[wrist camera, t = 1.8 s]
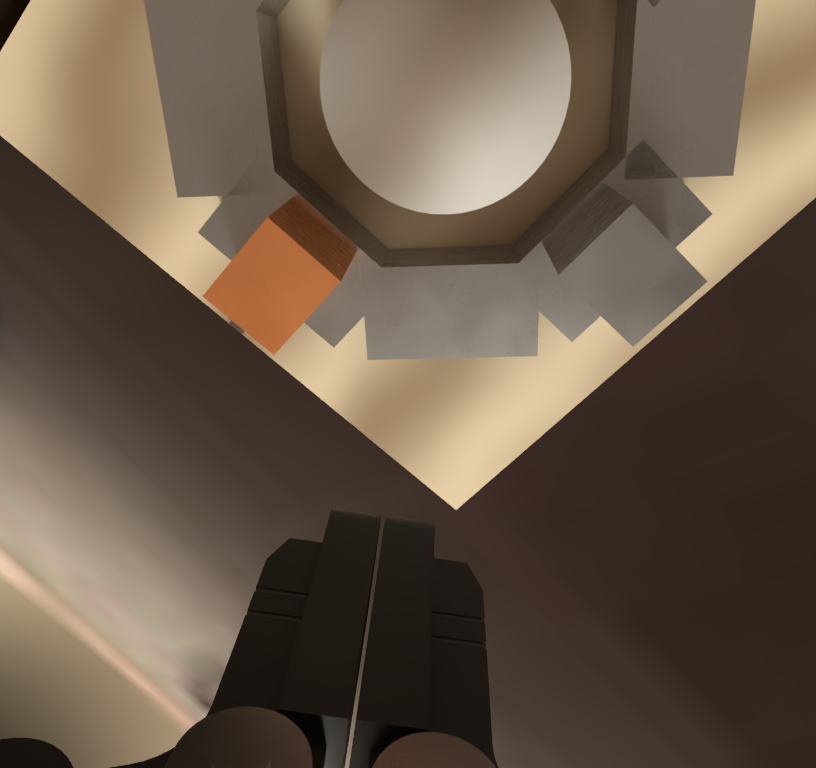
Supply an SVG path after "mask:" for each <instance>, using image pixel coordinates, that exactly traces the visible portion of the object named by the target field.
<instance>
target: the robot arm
mask: <svg viewBox="0 0 816 768" xmlns="http://www.w3.org/2000/svg"><path fill="white" fill-rule="evenodd" d="M380 521H381V515H376V514H369V513H362V512H355V511H348V510H341V509H334V508H332V510H331V513H330V517H329V520H328V524H327V528H326V532H325V535H324V539H323V543H321V542H314V541H307V540H300V539H293V538H289V539H288V540H287V541H286V542H285V543H284V544H283V545H282V546H281V547H280V548H278V549H277V550H276V551H275V552H274V553H273V554H272V555H271V556H270V557H268V558H267V560H266V562H265V565H264V568H263V570H262V573H261V576H260V578H259V581H258V584H257V586H256V591H255V592H254V594H253V597H252V600H251V602H250V605H249V608H248V612H247V615H246V616H245V618H244V621H243V624H242V626H241V629H240V632H239V634H238V637H237V640H236V642H235V645H234V648H233V650H232V653H231V656H230V658H229V661H228V664H227V666H226V669H225V672H224V674H223V677H222V680H221V682H220V685H219V688H218V690H217V693H216V696H215V698H214V701H213V704H212V706H211V708H210V710H209V712H208V714H207V716H206V717H205V718H204V719H202V720H201V721H199V722H197V723H196V724H195V725H194V726H192V727H191V728H190V729H189V730H188V731H187V732H186V733H185V734H184V735H183V736H182V738H181V739H180V740H179V741H178V743H177V745H176V746H175V747H174V748H173V749H171V750H169V751H167V752H165V753H163V754H161V755H159V756H157V757H154V758H151V759H149V760H146V761H143V762H138V763H134V764H130V765H124V766H117V767H111V768H344V767H345V760H346V754H347V747H348V741H349V734H350V727H351V721H352V714H353V708H354V701H355V695H356V688H357V681H358V675H359V668H360V662H361V655H362V649H363V642H364V635H365V629H366V622H367V615H368V608H369V601H370V594H371V586H372V579H373V572H374V565H375V557H376V550H377V543H378V536H379V529H380ZM434 536H435V523H434V522H427V521H420V520H413V519H405V518H398V517H391V516H386V517H385V524H384V531H383V538H382V545H381V551H380V558H379V565H378V572H377V579H376V586H375V593H374V600H373V607H372V613H371V620H370V627H369V634H368V641H367V648H366V655H365V662H364V668H363V675H362V682H361V689H360V696H359V703H358V710H357V717H356V724H355V731H354V738H353V745H352V752H351V759H350V766H349V768H498V766H497V763H496V760H495V757H494V752H493V745H492V731H491V714H490V698H489V682H488V666H487V649H486V633H485V624H484V619H485V617H484V601H483V589H482V587H481V586H480V584H479V582H478V581H477V579H476V577H475V576H474V574H473V572H472V571H471V569H470V568H469V566H468V564H467V563H464V562H456V561H449V560H442V559H435V558H434ZM0 768H73V766H72V764H71V762H70V761H69V759H68V757H67V756H66V755H65V754H64V753H63V752H62V751H61V750H59V749H58V748H56V747H55V746H53V745H52V744H49V743H47V742H44V741H42V740H36V739H32V738H8V739H1V740H0Z"/></svg>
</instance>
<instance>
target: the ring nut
mask: <svg viewBox="0 0 816 768" xmlns="http://www.w3.org/2000/svg"><path fill="white" fill-rule="evenodd" d="M289 1H290V0H144V5H145V11H146V16H147V22H148V28H149V34H150V40H151V46H152V52H153V57H154V63H155V69H156V75H157V81H158V87H159V93H160V98H161V104H162V110H163V116H164V122H165V128H166V134H167V139H168V145H169V151H170V157H171V163H172V169H173V175H174V180H175V186H176V192H177V198H180V197H205V196H226V197H225V198H224V200H223V201H222V202H221V203H220V205H219V206H218V207H217V208H216V210H215V211H214V212H213V214H212V215H211V216H210V217H209V219H208V220H207V221H206V222H205V224H204V225H203V226H202V228H201V229H200V230H199V231H198V233H199V234H200V235H201V236H202V237H204V238H205V239H206V240H207V241H208V242H210V243H211V244H212V245H213V246H214V247H215V248H217V249H218V250H219V251H220V252H221V253H223V254H224V255H225V256H226V257H227V258H228V259H230V260H231V262H230V263H229V264H228V266H227V267H226V268H225V269H224V271H223V272H222V273H221V274H220V275H219V277H218V278H217V279H216V280H215V281H214V283H213V284H212V285H211V286H210V288H209V289H208V290H207V291H206V292H205V294H204V295H203V297H204V298H205V299H206V300H208V301H209V302H210V303H211V304H212V305H214V306H215V307H216V308H217V309H219V310H220V311H221V312H222V313H223V314H225V315H226V316H227V317H228V318H229V319H231V320H232V321H233V322H234V323H236V324H237V325H238V326H239V327H240V328H242V329H243V330H244V331H245V332H246V333H248V334H249V335H250V336H251V337H252V338H254V339H255V340H256V341H257V342H259V343H260V344H261V345H262V346H263V347H265V348H266V349H267V350H268V351H269V352H271V353H272V354H273V355H275V354H276V353H277V351H278V350H279V349H280V348H281V347H282V346H283V345H284V344H285V343H286V341H287V340H288V339H289V338H290V337H291V336H292V335H293V334H294V333H295V332H296V330H297V329H298V328H299V327H300V326H301V325H302V324H303V323H305V324H306V325H307V326H309V327H310V328H311V329H312V330H313V331H315V332H316V333H317V334H318V335H319V336H320V337H322V338H323V339H324V340H325V341H326V342H327V343H329V344H330V345H331V346H332V347H333V348H334V347H335V346H336V345H337V344H338V343H339V342H340V341H341V340H342V339H343V338H344V337H345V336H346V335H347V333H348V332H349V331H350V330H351V329H352V328H353V327H354V326H355V325H356V324H357V323H358V322H359V321H360V320H361V319H362V318H363V316H364V320H365V334H366V347H367V360H390V359H435V358H480V357H524V356H538V322H539V312H540V313H541V314H542V315H543V316H545V317H546V318H547V319H548V320H549V321H550V322H551V323H552V324H553V325H554V326H555V327H556V328H557V329H558V330H559V331H560V332H561V333H563V334H564V335H565V336H566V337H567V338H568V339H569V340H570V341H571V342H573V341H574V340H575V339H576V338H577V337H578V336H579V335H580V334H582V333H583V332H584V331H585V330H586V329H587V328H588V327H589V326H590V325H591V324H593V323H594V322H595V321H596V320H597V319H598V318H599V317H600V316H601V317H602V318H603V319H605V320H606V321H607V322H608V323H609V324H610V325H611V326H612V327H613V328H614V329H615V330H616V331H617V332H618V333H619V334H620V335H621V336H622V337H623V338H624V339H625V340H626V341H627V342H628V343H629V344H630V345H631V346H632V347H633V346H635V345H636V344H637V343H638V342H639V341H640V340H641V339H643V338H644V337H645V336H646V335H647V334H648V333H649V332H651V331H652V330H653V329H654V328H655V327H656V326H657V325H659V324H660V323H661V322H662V321H663V320H664V319H665V318H667V317H668V316H669V315H670V314H671V313H672V312H673V311H675V310H676V309H677V308H678V307H679V306H680V305H681V304H683V303H684V302H685V301H686V300H687V299H688V298H689V297H691V296H692V295H693V294H694V293H695V292H696V291H697V290H699V289H700V288H701V287H702V286H703V285H704V284H705V283H707V282H708V281H707V280H706V279H705V278H704V277H703V276H702V275H701V274H700V273H699V272H698V271H697V270H696V269H695V268H694V267H693V266H692V265H691V264H690V262H689V261H688V260H687V259H686V258H685V257H684V256H683V255H682V254H681V253H680V252H679V251H678V250H677V249H676V247H677V246H678V245H679V244H680V243H681V242H682V241H684V240H685V239H686V238H687V237H688V236H689V235H690V234H691V233H692V232H693V231H695V230H696V229H697V228H698V227H699V226H700V225H701V224H702V223H703V222H704V221H706V220H707V219H708V218H709V217H710V216H711V215H712V213H711V212H710V211H709V210H708V208H707V207H706V206H705V205H704V204H703V203H702V202H701V201H700V200H699V199H698V198H697V197H696V196H695V194H694V193H693V192H692V191H691V190H690V189H689V188H688V187H687V186H686V185H685V184H684V183H683V182H682V180H681V179H680V178H687V177H713V176H733V174H734V166H735V159H736V151H737V143H738V135H739V128H740V120H741V112H742V104H743V97H744V89H745V81H746V74H747V66H748V58H749V50H750V43H751V35H752V27H753V19H754V12H755V4H756V0H617V15H616V31H615V47H614V64H613V80H612V96H611V113H610V129H609V145H608V149H607V150H606V151H605V152H604V153H603V154H602V155H601V156H600V157H599V158H598V159H597V160H596V161H595V162H594V163H593V164H592V165H591V166H590V167H589V168H588V169H587V170H586V171H585V172H584V173H583V174H582V175H581V176H580V177H579V178H578V179H577V180H576V181H575V182H574V183H573V184H572V185H571V186H570V187H569V188H568V189H567V190H566V191H565V192H564V193H563V194H562V195H561V196H560V197H559V198H558V199H557V200H556V201H555V202H554V203H553V204H552V205H551V206H550V207H549V208H548V209H547V210H546V211H545V212H544V213H543V214H542V215H541V216H540V217H539V218H538V219H537V220H536V221H535V222H534V223H533V224H532V225H531V226H530V227H529V229H528V230H527V231H526V232H525V233H524V234H523V235H522V236H521V237H520V238H519V239H518V240H517V241H516V242H515V243H514V244H513V245H491V246H461V247H431V248H401V249H388V248H387V247H386V246H384V245H383V244H382V243H381V242H380V241H379V240H378V239H377V238H376V237H375V236H373V235H372V234H371V233H370V232H369V231H368V230H367V229H366V228H365V227H364V226H362V225H361V224H360V223H359V222H358V221H357V220H356V219H355V218H354V217H353V216H351V215H350V214H349V213H348V212H347V211H346V210H345V209H344V208H343V207H342V206H340V205H339V204H338V203H337V202H336V201H335V200H334V199H333V198H332V197H331V196H330V195H328V194H327V193H326V192H325V191H324V190H323V189H322V188H321V187H320V186H319V185H317V184H316V183H315V182H314V181H313V180H312V179H311V178H310V177H309V176H308V175H306V174H305V173H304V172H303V171H302V170H301V169H300V168H299V167H298V166H297V165H295V164H294V163H293V162H292V156H291V146H290V137H289V128H288V118H287V109H286V99H285V90H284V81H283V71H282V62H281V52H280V43H279V34H278V24H277V17H278V16H279V14H280V13H281V11H282V10H283V9H284V7H285V6H286V5H287V3H288V2H289Z"/></svg>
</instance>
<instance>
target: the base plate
mask: <svg viewBox="0 0 816 768" xmlns="http://www.w3.org/2000/svg"><path fill="white" fill-rule="evenodd" d="M616 15H617V0H290V1H289V2H288V3H287V5H286V6H285V7H284V9H283V10H282V11H281V13H280V14H279V16H278V17H277V24H278V34H279V43H280V52H281V62H282V71H283V81H284V90H285V99H286V109H287V118H288V128H289V137H290V146H291V156H292V162H293V163H294V164H295V165H297V166H298V167H299V168H300V169H301V170H302V171H303V172H304V173H305V174H306V175H308V176H309V177H310V178H311V179H312V180H313V181H314V182H315V183H316V184H317V185H319V186H320V187H321V188H322V189H323V190H324V191H325V192H326V193H327V194H328V195H330V196H331V197H332V198H333V199H334V200H335V201H336V202H337V203H338V204H339V205H340V206H342V207H343V208H344V209H345V210H346V211H347V212H348V213H349V214H350V215H351V216H353V217H354V218H355V219H356V220H357V221H358V222H359V223H360V224H361V225H362V226H364V227H365V228H366V229H367V230H368V231H369V232H370V233H371V234H372V235H373V236H375V237H376V238H377V239H378V240H379V241H380V242H381V243H382V244H383V245H384V246H386V247H387V248H388V249H401V248H431V247H461V246H491V245H513V244H514V243H515V242H516V241H517V240H518V239H519V238H520V237H521V236H522V235H523V234H524V233H525V232H526V231H527V230H528V229H529V227H530V226H531V225H532V224H533V223H534V222H535V221H536V220H537V219H538V218H539V217H540V216H541V215H542V214H543V213H544V212H545V211H546V210H547V209H548V208H549V207H550V206H551V205H552V204H553V203H554V202H555V201H556V200H557V199H558V198H559V197H560V196H561V195H562V194H563V193H564V192H565V191H566V190H567V189H568V188H569V187H570V186H571V185H572V184H573V183H574V182H575V181H576V180H577V179H578V178H579V177H580V176H581V175H582V174H583V173H584V172H585V171H586V170H587V169H588V168H589V167H590V166H591V165H592V164H593V163H594V162H595V161H596V160H597V159H598V158H599V157H600V156H601V155H602V154H603V153H604V152H605V151H606V150H607V149H608V145H609V129H610V113H611V96H612V80H613V64H614V47H615V31H616ZM0 136H2V137H3V138H4V139H5V140H7V141H8V142H9V143H10V144H11V145H13V146H14V147H15V148H16V149H17V150H19V151H20V152H21V153H22V154H24V155H25V156H26V157H27V158H28V159H30V160H31V161H32V162H33V163H35V164H36V165H37V166H38V167H39V168H41V169H42V170H43V171H44V172H45V173H47V174H48V175H49V176H50V177H52V178H53V179H54V180H55V181H56V182H58V183H59V184H60V185H61V186H63V187H64V188H65V189H66V190H67V191H69V192H70V193H71V194H72V195H73V196H75V197H76V198H77V199H78V200H80V201H81V202H82V203H83V204H84V205H86V206H87V207H88V208H89V209H90V210H92V211H93V212H94V213H95V214H97V215H98V216H99V217H100V218H101V219H103V220H104V221H105V222H106V223H108V224H109V225H110V226H111V227H112V228H114V229H115V230H116V231H117V232H118V233H120V234H121V235H122V236H123V237H125V238H126V239H127V240H128V241H129V242H131V243H132V244H133V245H134V246H136V247H137V248H138V249H139V250H140V251H142V252H143V253H144V254H145V255H146V256H148V257H149V258H150V259H151V260H153V261H154V262H155V263H156V264H157V265H159V266H160V267H161V268H162V269H164V270H165V271H166V272H167V273H168V274H170V275H171V276H172V277H173V278H174V279H176V280H177V281H178V282H179V283H181V284H182V285H183V286H184V287H185V288H187V289H188V290H189V291H190V292H191V293H193V294H194V295H195V296H196V297H198V298H199V299H200V300H201V301H202V302H204V303H205V304H206V305H207V306H209V307H210V308H211V309H212V310H213V311H215V312H216V313H217V314H218V315H219V316H221V317H222V318H223V319H224V320H226V321H227V322H228V323H229V324H230V325H232V326H233V327H234V328H235V329H237V330H238V331H239V332H240V333H241V334H243V335H244V336H245V337H246V338H247V339H249V340H250V341H251V342H252V343H254V344H255V345H256V346H257V347H258V348H260V349H261V350H262V351H263V352H265V353H266V354H267V355H268V356H269V357H271V358H272V359H273V360H274V361H275V362H277V363H278V364H279V365H280V366H282V367H283V368H284V369H285V370H286V371H288V372H289V373H290V374H291V375H292V376H294V377H295V378H296V379H297V380H299V381H300V382H301V383H302V384H303V385H305V386H306V387H307V388H308V389H310V390H311V391H312V392H313V393H314V394H316V395H317V396H318V397H319V398H320V399H322V400H323V401H324V402H325V403H327V404H328V405H329V406H330V407H331V408H333V409H334V410H335V411H336V412H338V413H339V414H340V415H341V416H342V417H344V418H345V419H346V420H347V421H348V422H350V423H351V424H352V425H353V426H355V427H356V428H357V429H358V430H359V431H361V432H362V433H363V434H364V435H366V436H367V437H368V438H369V439H370V440H372V441H373V442H374V443H375V444H376V445H378V446H379V447H380V448H381V449H383V450H384V451H385V452H386V453H387V454H389V455H390V456H391V457H392V458H393V459H395V460H396V461H397V462H398V463H400V464H401V465H402V466H403V467H404V468H406V469H407V470H408V471H409V472H411V473H412V474H413V475H414V476H415V477H417V478H418V479H419V480H420V481H421V482H423V483H424V484H425V485H426V486H428V487H429V488H430V489H431V490H432V491H434V492H435V493H436V494H437V495H439V496H440V497H441V498H442V499H443V500H445V501H446V502H447V503H448V504H449V505H451V506H452V507H453V508H454V509H456V510H457V509H458V508H459V507H460V506H461V505H463V504H464V503H465V502H466V501H467V500H468V499H469V498H471V497H472V496H473V495H474V494H475V493H476V492H477V491H479V490H480V489H481V488H482V487H483V486H484V485H485V484H487V483H488V482H489V481H490V480H491V479H492V478H494V477H495V476H496V475H497V474H498V473H499V472H500V471H502V470H503V469H504V468H505V467H506V466H507V465H508V464H510V463H511V462H512V461H513V460H514V459H515V458H517V457H518V456H519V455H520V454H521V453H522V452H523V451H525V450H526V449H527V448H528V447H529V446H530V445H531V444H533V443H534V442H535V441H536V440H537V439H538V438H540V437H541V436H542V435H543V434H544V433H545V432H546V431H548V430H549V429H550V428H551V427H552V426H553V425H554V424H556V423H557V422H558V421H559V420H560V419H561V418H563V417H564V416H565V415H566V414H567V413H568V412H569V411H571V410H572V409H573V408H574V407H575V406H576V405H577V404H579V403H580V402H581V401H582V400H583V399H584V398H585V397H587V396H588V395H589V394H590V393H591V392H592V391H594V390H595V389H596V388H597V387H598V386H599V385H600V384H602V383H603V382H604V381H605V380H606V379H607V378H608V377H610V376H611V375H612V374H613V373H614V372H615V371H617V370H618V369H619V368H620V367H621V366H622V365H623V364H625V363H626V362H627V361H628V360H629V359H630V358H631V357H633V356H634V355H635V354H636V353H637V352H638V351H640V350H641V349H642V348H643V347H644V346H645V345H646V344H648V343H649V342H650V341H651V340H652V339H653V338H654V337H656V336H657V335H658V334H659V333H660V332H661V331H663V330H664V329H665V328H666V327H667V326H668V325H669V324H671V323H672V322H673V321H674V320H675V319H676V318H677V317H679V316H680V315H681V314H682V313H683V312H684V311H686V310H687V309H688V308H689V307H690V306H691V305H692V304H694V303H695V302H696V301H697V300H698V299H699V298H700V297H702V296H703V295H704V294H705V293H706V292H707V291H708V290H710V289H711V288H712V287H713V286H714V285H715V284H717V283H718V282H719V281H720V280H721V279H722V278H723V277H725V276H726V275H727V274H728V273H729V272H730V271H731V270H733V269H734V268H735V267H736V266H737V265H738V264H740V263H741V262H742V261H743V260H744V259H745V258H746V257H748V256H749V255H750V254H751V253H752V252H753V251H754V250H756V249H757V248H758V247H759V246H760V245H761V244H763V243H764V242H765V241H766V240H767V239H768V238H769V237H771V236H772V235H773V234H774V233H775V232H776V231H777V230H779V229H780V228H781V227H782V226H783V225H784V224H786V223H787V222H788V221H789V220H790V219H791V218H792V217H794V216H795V215H796V214H797V213H798V212H799V211H800V210H802V209H803V208H804V207H805V206H806V205H807V204H808V203H810V202H811V201H812V200H813V199H814V198H815V197H816V0H756V4H755V12H754V19H753V27H752V35H751V43H750V50H749V58H748V66H747V74H746V81H745V89H744V97H743V104H742V112H741V120H740V128H739V135H738V143H737V151H736V159H735V166H734V174H733V176H713V177H687V178H680V179H681V180H682V182H683V183H684V184H685V185H686V186H687V187H688V188H689V189H690V190H691V191H692V192H693V193H694V194H695V196H696V197H697V198H698V199H699V200H700V201H701V202H702V203H703V204H704V205H705V206H706V207H707V208H708V210H709V211H710V212H711V213H712V215H711V216H710V217H709V218H708V219H707V220H706V221H704V222H703V223H702V224H701V225H700V226H699V227H698V228H697V229H696V230H695V231H693V232H692V233H691V234H690V235H689V236H688V237H687V238H686V239H685V240H684V241H682V242H681V243H680V244H679V245H678V246H677V247H676V249H677V250H678V251H679V252H680V253H681V254H682V255H683V256H684V257H685V258H686V259H687V260H688V261H689V262H690V264H691V265H692V266H693V267H694V268H695V269H696V270H697V271H698V272H699V273H700V274H701V275H702V276H703V277H704V278H705V279H706V280H707V281H708V282H707V283H705V284H704V285H703V286H702V287H701V288H700V289H699V290H697V291H696V292H695V293H694V294H693V295H692V296H691V297H689V298H688V299H687V300H686V301H685V302H684V303H683V304H681V305H680V306H679V307H678V308H677V309H676V310H675V311H673V312H672V313H671V314H670V315H669V316H668V317H667V318H665V319H664V320H663V321H662V322H661V323H660V324H659V325H657V326H656V327H655V328H654V329H653V330H652V331H651V332H649V333H648V334H647V335H646V336H645V337H644V338H643V339H641V340H640V341H639V342H638V343H637V344H636V345H635V346H633V347H632V346H631V345H630V344H629V343H628V342H627V341H626V340H625V339H624V338H623V337H622V336H621V335H620V334H619V333H618V332H617V331H616V330H615V329H614V328H613V327H612V326H611V325H610V324H609V323H608V322H607V321H606V320H605V319H603V318H602V317H601V316H600V317H599V318H598V319H597V320H596V321H595V322H594V323H593V324H591V325H590V326H589V327H588V328H587V329H586V330H585V331H584V332H583V333H582V334H580V335H579V336H578V337H577V338H576V339H575V340H574V341H573V342H571V341H570V340H569V339H568V338H567V337H566V336H565V335H564V334H563V333H561V332H560V331H559V330H558V329H557V328H556V327H555V326H554V325H553V324H552V323H551V322H550V321H549V320H548V319H547V318H546V317H545V316H543V315H542V314H541V313H540V312H539V322H538V356H524V357H480V358H435V359H390V360H367V347H366V334H365V320H364V316H363V318H362V319H361V320H360V321H359V322H358V323H357V324H356V325H355V326H354V327H353V328H352V329H351V330H350V331H349V332H348V333H347V335H346V336H345V337H344V338H343V339H342V340H341V341H340V342H339V343H338V344H337V345H336V346H335V347H334V348H333V347H332V346H331V345H330V344H329V343H327V342H326V341H325V340H324V339H323V338H322V337H320V336H319V335H318V334H317V333H316V332H315V331H313V330H312V329H311V328H310V327H309V326H307V325H306V324H305V323H303V324H302V325H301V326H300V327H299V328H298V329H297V330H296V332H295V333H294V334H293V335H292V336H291V337H290V338H289V339H288V340H287V341H286V343H285V344H284V345H283V346H282V347H281V348H280V349H279V350H278V351H277V353H276V354H275V355H273V354H272V353H271V352H269V351H268V350H267V349H266V348H265V347H263V346H262V345H261V344H260V343H259V342H257V341H256V340H255V339H254V338H252V337H251V336H250V335H249V334H248V333H246V332H245V331H244V330H243V329H242V328H240V327H239V326H238V325H237V324H236V323H234V322H233V321H232V320H231V319H229V318H228V317H227V316H226V315H225V314H223V313H222V312H221V311H220V310H219V309H217V308H216V307H215V306H214V305H212V304H211V303H210V302H209V301H208V300H206V299H205V298H204V297H203V295H204V294H205V292H206V291H207V290H208V289H209V288H210V286H211V285H212V284H213V283H214V281H215V280H216V279H217V278H218V277H219V275H220V274H221V273H222V272H223V271H224V269H225V268H226V267H227V266H228V264H229V263H230V262H231V260H230V259H228V258H227V257H226V256H225V255H224V254H223V253H221V252H220V251H219V250H218V249H217V248H215V247H214V246H213V245H212V244H211V243H210V242H208V241H207V240H206V239H205V238H204V237H202V236H201V235H200V234H199V233H198V231H199V230H200V229H201V228H202V226H203V225H204V224H205V222H206V221H207V220H208V219H209V217H210V216H211V215H212V214H213V212H214V211H215V210H216V208H217V207H218V206H219V205H220V203H221V202H222V201H223V200H224V198H225V197H226V196H205V197H180V198H177V192H176V186H175V180H174V175H173V169H172V163H171V157H170V151H169V145H168V139H167V134H166V128H165V122H164V116H163V110H162V104H161V98H160V93H159V87H158V81H157V75H156V69H155V63H154V57H153V52H152V46H151V40H150V34H149V28H148V22H147V16H146V11H145V5H144V0H31V1H30V2H29V4H28V6H27V7H26V9H25V11H24V12H23V14H22V16H21V18H20V19H19V21H18V23H17V24H16V26H15V28H14V29H13V31H12V33H11V34H10V36H9V38H8V39H7V41H6V43H5V45H4V46H3V48H2V50H1V51H0Z"/></svg>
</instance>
